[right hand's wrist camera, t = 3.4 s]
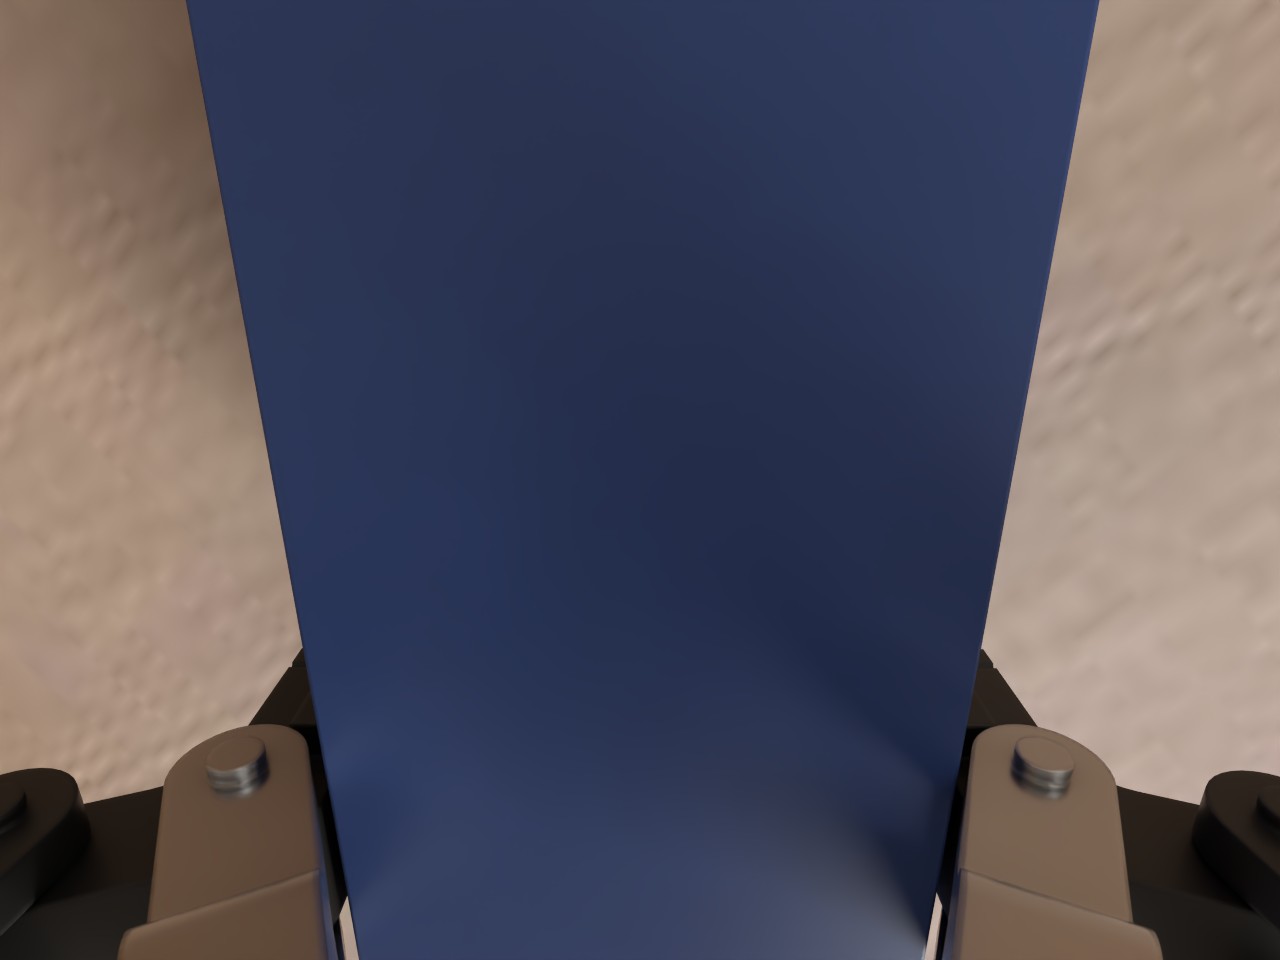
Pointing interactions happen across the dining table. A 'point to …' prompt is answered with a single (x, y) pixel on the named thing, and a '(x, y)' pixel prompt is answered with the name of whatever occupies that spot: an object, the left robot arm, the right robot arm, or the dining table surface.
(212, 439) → the dining table surface
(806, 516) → the box
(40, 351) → the dining table surface
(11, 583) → the dining table surface
